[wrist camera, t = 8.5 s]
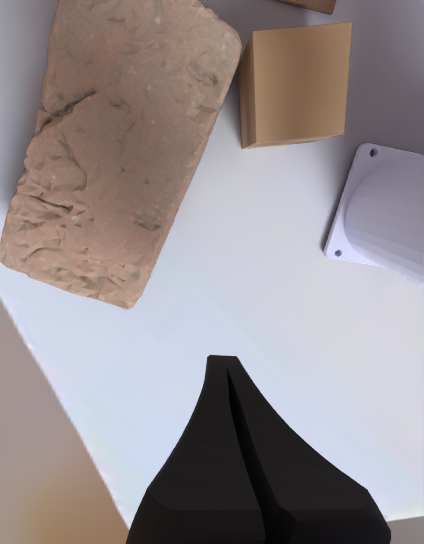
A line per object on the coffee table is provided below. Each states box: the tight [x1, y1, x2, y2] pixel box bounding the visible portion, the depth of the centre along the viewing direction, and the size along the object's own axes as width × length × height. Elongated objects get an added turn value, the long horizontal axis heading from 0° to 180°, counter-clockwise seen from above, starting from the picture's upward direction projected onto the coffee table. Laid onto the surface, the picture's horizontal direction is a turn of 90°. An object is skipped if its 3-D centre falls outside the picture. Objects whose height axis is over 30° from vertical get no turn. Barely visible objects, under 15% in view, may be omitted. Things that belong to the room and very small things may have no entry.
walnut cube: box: [238, 22, 352, 149], centre depth 15 cm, size 4×4×4 cm
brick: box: [0, 0, 243, 309], centre depth 16 cm, size 16×8×5 cm, turn 154°
